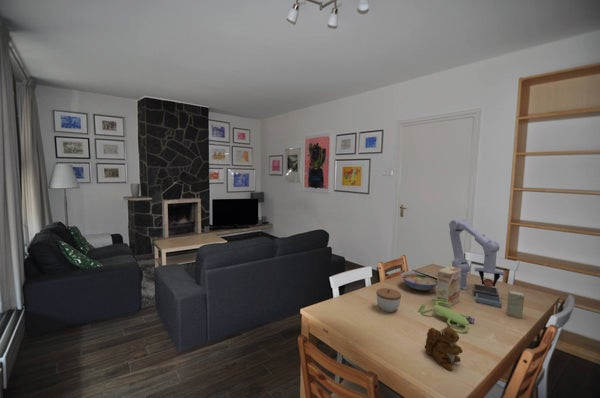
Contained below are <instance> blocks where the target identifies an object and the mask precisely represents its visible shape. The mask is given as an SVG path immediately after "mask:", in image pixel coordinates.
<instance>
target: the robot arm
mask: <svg viewBox="0 0 600 398" xmlns="http://www.w3.org/2000/svg"><path fill="white" fill-rule="evenodd" d="M448 227H449V236H450V241H451V246H452V251H453V257H454V259H453V260H452V261H451V266H452V267H456V268H460V269H461V281H460V290H461V289H463V290H467V278H468V277H467V275H468V273H469V272H470V271H471V267H470V265H469V262H468V260H467V259H466V258H465V257H464V252H463V246H462V241H461V240H462V239H461V236H460V234H461V233H462V232H463V231H465V232H467V233H468V234H469V235H471V236H472V237H474V241H475V242H477V244H478V245H480V246H481V247H482V249H483V254H484V258H483V267H474V272H478V275H479V277H480V280H481V285H483V286H484V284H483V282H484V275H485V274H492V275H493V286H492V287H494V288H496V284H497V282H498V281H499V279H500V277H501V276H502V277H505V271H501V270H497V269H496V267H497V266H496V265H497V252H499V250H500V245H499V244H498V243H497V242H496V241H492V240H491V239H489V237H487V236H486V234H485V233H479V232H478V231H477V230H476V229H475V228H474V227H473V226H472V225H471V224H470V222H469V221H467V219H465V218H464V219H452V220H450V221H449V223H448ZM484 273H485V274H484Z"/></svg>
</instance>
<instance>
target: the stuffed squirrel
mask: <svg viewBox="0 0 600 398" xmlns="http://www.w3.org/2000/svg"><path fill="white" fill-rule="evenodd" d="M452 328H453V327H452ZM452 328H451V326H450V325H448V324H447V326H446V327H444V328H443V329H441V330H438V329H435V328H434V327H431V328H429V329H428V330H427V332H426V339H425V345H424V349H425V352H426V353H427V355H429V356H431V357H434V360H436V362H437V364H439V365H440V366H441V367H443V368H444V369H446V370H448V371H453V370H454V369H453V368H454V367H453V362H459V361H461V357H460V356H459V355H460V354H462V353H463V349H462V347H461V346H460V345H458V344H457V343H458V342H459V340H460V336H459V333H457V332H455V331H454V330H453V329H454V328H453V329H452Z"/></svg>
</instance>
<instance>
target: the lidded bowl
mask: <svg viewBox="0 0 600 398" xmlns="http://www.w3.org/2000/svg"><path fill="white" fill-rule="evenodd" d="M401 298H402V294H401V292H400V291H398V290H395V289H393V288H388V287H382V288H378V289H377V290H376V302H377V305H378V307H379V308H380V309H381V310H382V311H383V312H387V313H393V312H395V311H396V310H398V308H399V306H400V304H401Z"/></svg>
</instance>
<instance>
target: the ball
mask: <svg viewBox="0 0 600 398" xmlns="http://www.w3.org/2000/svg"><path fill="white" fill-rule="evenodd" d="M493 282H494V280H492V279H490V278H486V279H483V286H485V287H488V288H491V287H493Z"/></svg>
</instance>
